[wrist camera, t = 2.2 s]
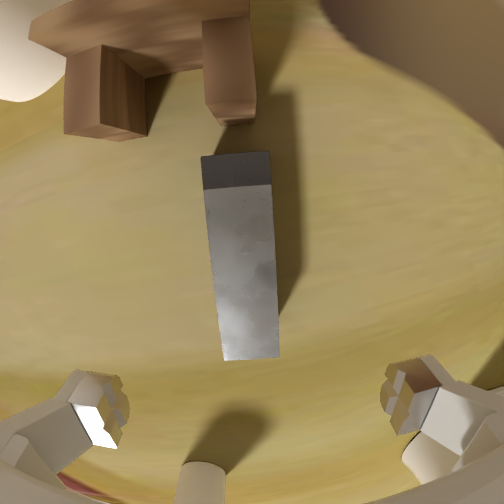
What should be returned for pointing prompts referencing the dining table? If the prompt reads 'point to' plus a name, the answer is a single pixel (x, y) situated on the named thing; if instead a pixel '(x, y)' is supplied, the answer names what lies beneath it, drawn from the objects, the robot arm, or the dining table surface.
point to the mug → (200, 484)
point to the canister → (26, 51)
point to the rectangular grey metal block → (242, 252)
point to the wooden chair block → (147, 59)
